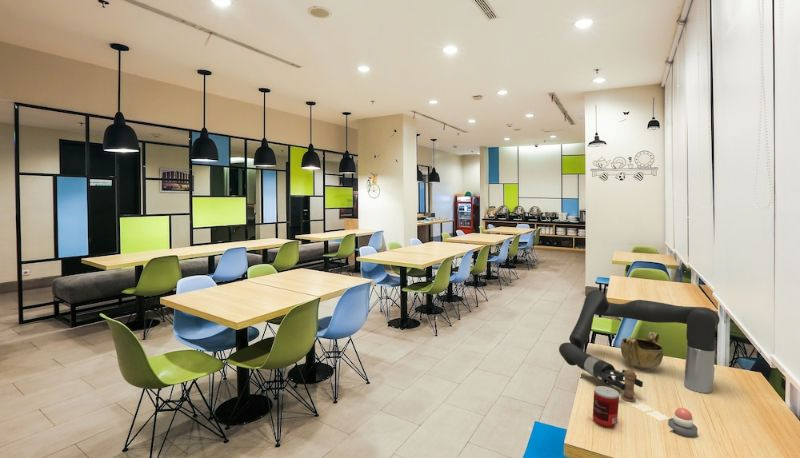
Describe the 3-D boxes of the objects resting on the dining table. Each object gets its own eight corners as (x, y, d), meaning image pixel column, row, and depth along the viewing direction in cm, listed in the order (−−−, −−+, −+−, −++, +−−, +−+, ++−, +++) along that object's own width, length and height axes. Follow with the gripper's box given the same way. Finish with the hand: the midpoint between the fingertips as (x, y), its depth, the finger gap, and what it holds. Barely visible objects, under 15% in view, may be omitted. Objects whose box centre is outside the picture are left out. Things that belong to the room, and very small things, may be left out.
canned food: (615, 418, 141) (617, 387, 140) (619, 430, 134) (621, 398, 133) (591, 413, 144) (592, 384, 143) (593, 425, 136) (595, 394, 135)
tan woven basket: (646, 379, 173) (649, 345, 172) (608, 364, 187) (610, 333, 186) (672, 368, 184) (674, 336, 183) (634, 355, 199) (636, 326, 198)
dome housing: (678, 422, 139) (679, 416, 139) (702, 435, 132) (703, 429, 132) (662, 425, 137) (662, 420, 137) (685, 439, 129) (686, 433, 129)
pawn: (627, 395, 156) (629, 366, 155) (639, 401, 151) (641, 371, 150) (617, 397, 154) (619, 368, 153) (629, 403, 150) (631, 373, 149)
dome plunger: (680, 417, 137) (681, 403, 137) (696, 426, 133) (697, 411, 132) (669, 420, 136) (670, 406, 135) (685, 428, 131) (686, 414, 130)
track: (628, 396, 157) (628, 393, 157) (674, 421, 140) (674, 418, 140) (613, 399, 154) (613, 396, 154) (657, 425, 137) (658, 422, 137)
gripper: (611, 375, 168) (647, 393, 153) (585, 379, 164) (618, 398, 148) (612, 357, 168) (648, 374, 153) (586, 361, 163) (619, 379, 148)
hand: (633, 386), depth 150 cm, fingers open, 8 cm apart
